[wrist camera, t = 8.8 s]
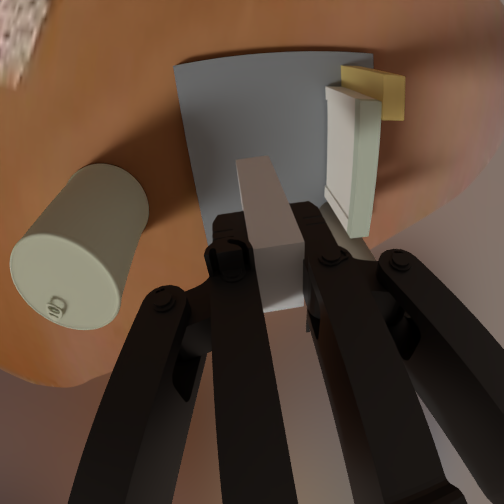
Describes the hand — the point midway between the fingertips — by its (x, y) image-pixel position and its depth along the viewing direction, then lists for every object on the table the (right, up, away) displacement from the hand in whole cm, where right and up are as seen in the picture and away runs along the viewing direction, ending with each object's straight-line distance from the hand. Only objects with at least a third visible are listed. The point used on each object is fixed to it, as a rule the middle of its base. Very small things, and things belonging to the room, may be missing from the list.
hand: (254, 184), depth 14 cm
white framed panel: (+7, +6, +10) cm, 14 cm away
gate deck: (+3, +6, +12) cm, 13 cm away
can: (-14, +1, +13) cm, 20 cm away
